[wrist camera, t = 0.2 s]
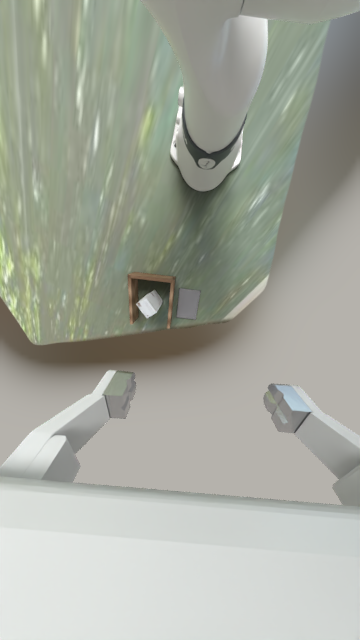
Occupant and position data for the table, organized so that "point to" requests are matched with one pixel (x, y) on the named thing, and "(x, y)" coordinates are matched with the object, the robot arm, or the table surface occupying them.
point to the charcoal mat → (188, 303)
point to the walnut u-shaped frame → (134, 292)
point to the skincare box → (150, 303)
